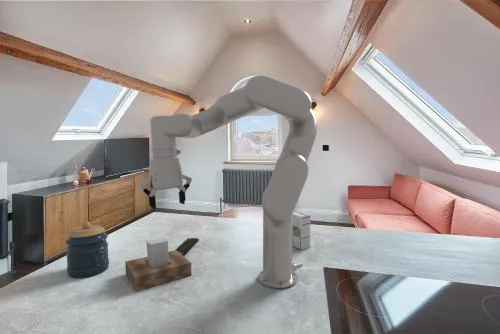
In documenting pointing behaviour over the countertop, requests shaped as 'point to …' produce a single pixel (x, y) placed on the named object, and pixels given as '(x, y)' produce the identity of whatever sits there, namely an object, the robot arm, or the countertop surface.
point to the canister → (87, 251)
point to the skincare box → (157, 253)
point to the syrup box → (301, 230)
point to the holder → (157, 271)
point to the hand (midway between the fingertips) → (168, 205)
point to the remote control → (187, 245)
